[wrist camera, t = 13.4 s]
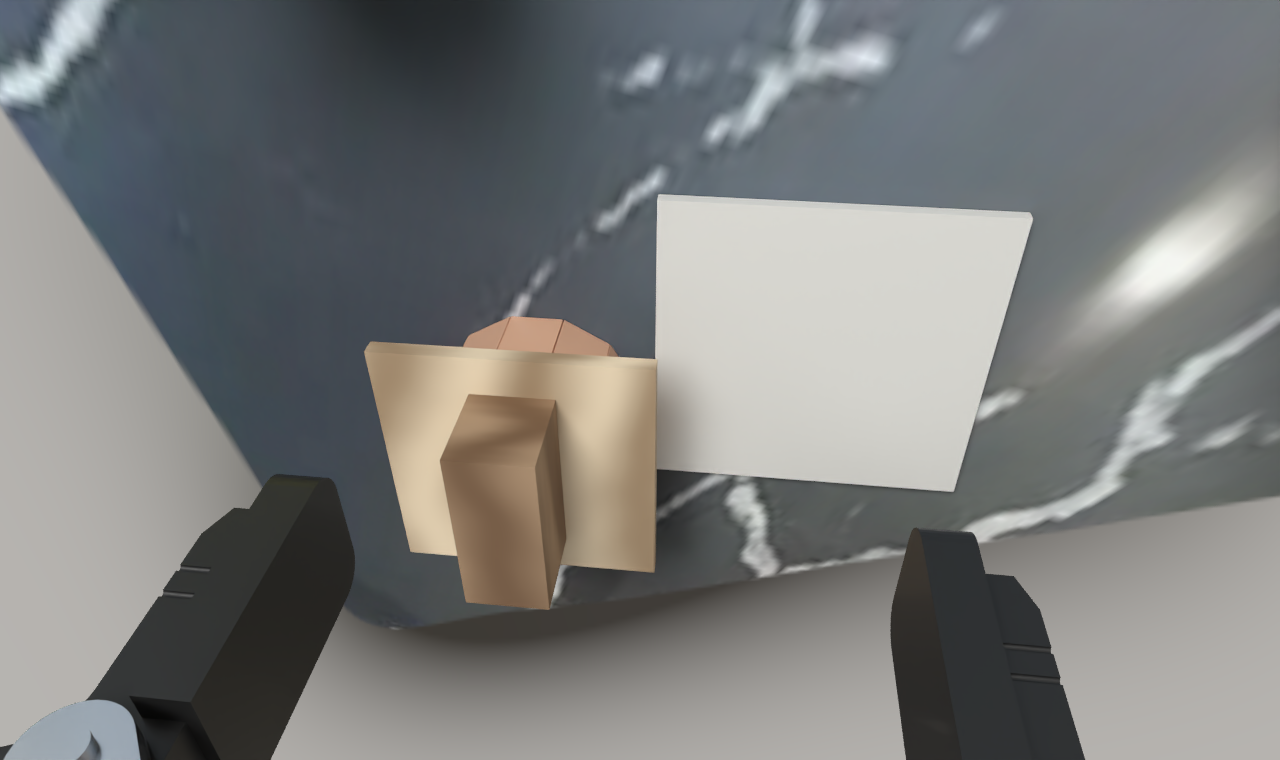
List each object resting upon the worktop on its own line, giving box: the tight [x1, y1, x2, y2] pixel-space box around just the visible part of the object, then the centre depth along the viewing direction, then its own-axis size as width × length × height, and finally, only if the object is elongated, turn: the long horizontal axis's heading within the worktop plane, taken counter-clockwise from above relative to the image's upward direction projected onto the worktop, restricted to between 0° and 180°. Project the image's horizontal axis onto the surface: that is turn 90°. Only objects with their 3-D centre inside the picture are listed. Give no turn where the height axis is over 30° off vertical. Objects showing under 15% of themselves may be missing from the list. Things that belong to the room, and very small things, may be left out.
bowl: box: [462, 316, 618, 357], centre depth 46 cm, size 10×10×5 cm
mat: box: [655, 194, 1033, 492], centre depth 44 cm, size 16×16×1 cm
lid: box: [364, 342, 658, 610], centre depth 41 cm, size 13×13×5 cm
